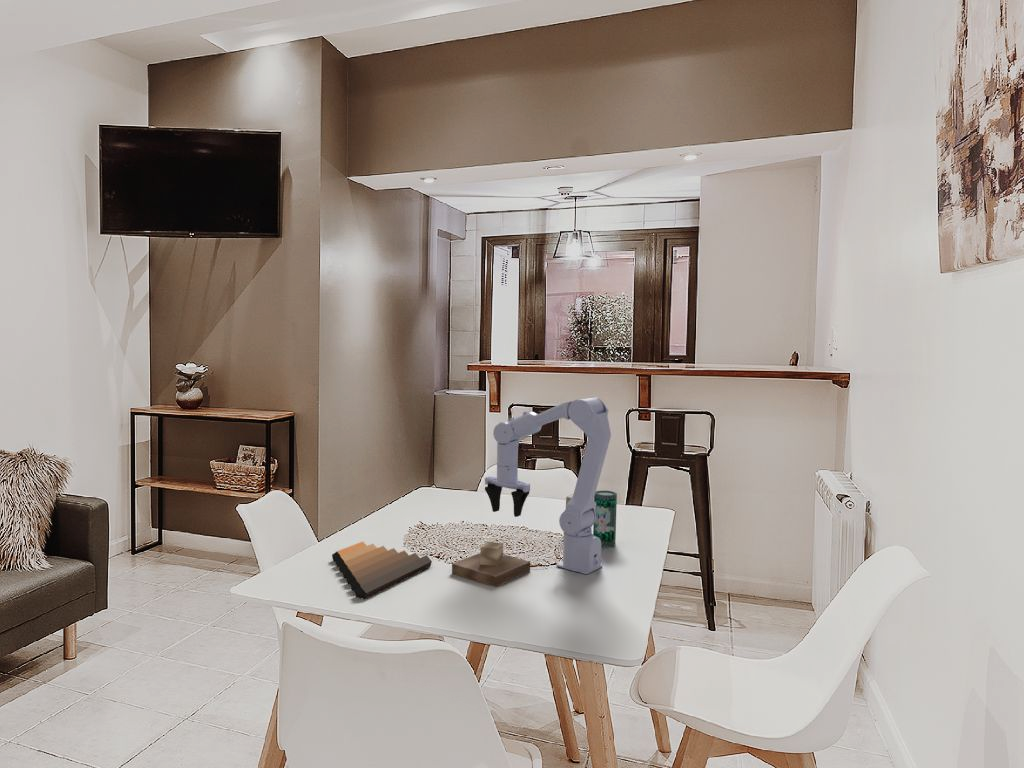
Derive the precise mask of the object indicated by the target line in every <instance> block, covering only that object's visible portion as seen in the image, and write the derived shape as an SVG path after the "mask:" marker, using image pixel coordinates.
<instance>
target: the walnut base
mask: <svg viewBox="0 0 1024 768" xmlns="http://www.w3.org/2000/svg"><path fill="white" fill-rule="evenodd" d="M530 572H531V561H529V560H525V559H522V558H518V557H514V556H511V555H506V554H504V553H503V561H502V562H501V563H500V564H499V565H498V566H490V565H481V564H480V553H477V554H474V555H472V556H469V557H466V558H464V559H460V560H457V561H455V562H453V563H451V574H453V575H456V576H458V577H461V578H465V579H468V580H471V581H475V582H478V583H481V584H483V585H488V586H490V587H494V588H496V587H499V586H501V585H503V584H505V583H507V582H509V581H512V580H515V579H517V578H519V577H521V576H523V575H525V574H527V573H530Z"/></svg>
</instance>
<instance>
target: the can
mask: <svg viewBox="0 0 1024 768" xmlns="http://www.w3.org/2000/svg"><path fill="white" fill-rule="evenodd" d="M617 500H618V494H617V492H616V491H612V490H596V492H595V496H594V501H595V502H596V508H595V512H596V521H595V523H594V524H593V525H592V528H593V531H592V534H593V535H594V536H596V537H598V538H600V540H601V548H606V549H607V548H612V547H615V546H616V536H617V534H616V533H617V531H616V529H617V506H618V505H617V503H618V501H617Z"/></svg>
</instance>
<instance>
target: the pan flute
mask: <svg viewBox="0 0 1024 768" xmlns="http://www.w3.org/2000/svg"><path fill="white" fill-rule="evenodd" d="M331 557H332V562H335V565H336V567H337V568H338V569H339V572H340V573H342V576H343V577H342V578H344V579H346V583H347V585H350V590H351V591H353V592H354V595H355V598H358V597H359V598H358V599H361V598H363V599H362V600H366V599H368V598H370V597H372V596H375V595H376V594H378V593H380V592H383V591H384V590H386V589H389V588H390V587H392V586H394V585H397V584H398V583H401V582H402V581H404V580H406V579H408V578H410V577H412V576H414V575H416V574H418V573H421V572H423V571H425V570H426V569H429V568H431V566H432V564H433V563H432V562H433V561H432V560H431V558H430V557H429V556H428V555H424V556H421V557H420V556H419V554H417V552H414V553H411V554H410V555H409V553H408V552H407V551H406V550H405V549H404V550H402V551H400V552H398V551H397V550H396V549H395V547H393V548H390V549H387V548H386V547H385V545H382V546H379V547H377V546H376V545H375V544H374V543H371V544H368V545H367V544H366V543H365V542H364V541H360V542H358V543H355V544H353V545H350V546H348V547H345V548H342V549H340V550H336V551H335V552H333V553H332V554H331Z"/></svg>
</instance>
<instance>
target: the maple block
mask: <svg viewBox="0 0 1024 768" xmlns="http://www.w3.org/2000/svg"><path fill="white" fill-rule="evenodd" d="M503 554H504V543H502V542H496V541H495V542H494V541H493V542H492V541H485V542H484V543H483V544H481V545H480V564H481V565H490V566H498V565H499V564H500V563H501V562H502V561H503Z"/></svg>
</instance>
